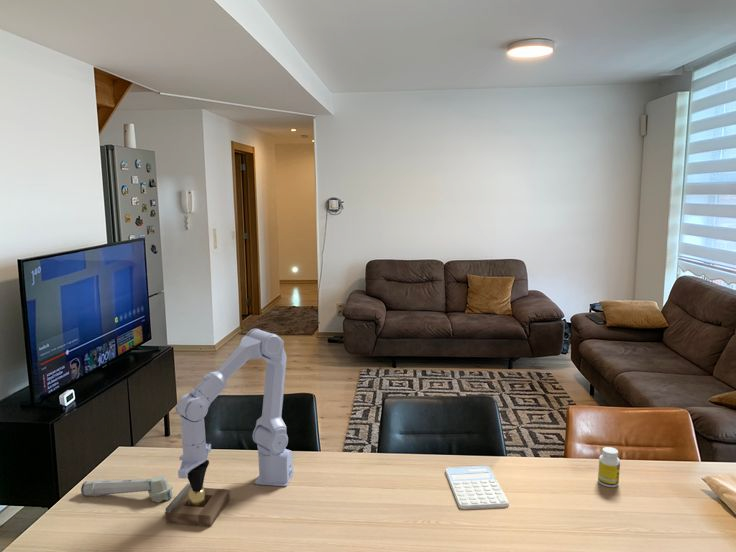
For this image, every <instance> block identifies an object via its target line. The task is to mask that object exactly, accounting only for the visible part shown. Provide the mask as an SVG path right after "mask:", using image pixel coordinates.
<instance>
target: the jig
mask: <svg viewBox="0 0 736 552" xmlns="http://www.w3.org/2000/svg"><path fill="white" fill-rule="evenodd" d="M190 488H192V487H191V485H190V482H189V483H188V482H187V484H186V485H184V487H183V488H182V490H180V492H179V493H178V494H177V495H175V497H174V498H173V500H172V501H170V503H169V504H168V505H167V506H166V508H165V512H164V515H165V517H164V518H165V523H166V524H172V525H173V524H174V525H184V526H196V527H212V526H213V524H214V523H215V521H216V520H217V519H218V517H219V516H220V514H221V513H222V512H223V510H224V509H225V507H226V506H227V504H229V501H230V499H231V498H230V489H224V488H210V487H204V489H205V503H206V505H205V506H204V507H192V506H189V493H188V491H189V489H190Z"/></svg>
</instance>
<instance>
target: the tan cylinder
mask: <svg viewBox="0 0 736 552" xmlns="http://www.w3.org/2000/svg"><path fill="white" fill-rule="evenodd" d="M204 488H205V487H204V486H203V487H202V490H201V491H193V490H192V488H190V489H189V491H188V493H189V506H192V507H204V506H205V505H206V503H205V489H204Z"/></svg>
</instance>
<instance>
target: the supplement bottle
mask: <svg viewBox="0 0 736 552" xmlns="http://www.w3.org/2000/svg"><path fill="white" fill-rule="evenodd" d="M601 453H602V454H600V455H599V458H598V469H597V471H598V472H597V482H598V483H599V484H600V485H602V486H603V487H606V488H607V487H608V488H615V487H617V486H619V482H620V468H621V459H620V458H619V457H618V456H619V451H618V449H617V448H615V447H612V446H611V447H610V446H605V447H603V448H602V452H601Z"/></svg>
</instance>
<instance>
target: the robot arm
mask: <svg viewBox="0 0 736 552" xmlns="http://www.w3.org/2000/svg"><path fill="white" fill-rule="evenodd" d="M284 344H285V340H284V339H282V338H281V337H280V336H279V335H278V334H275V333H270V332H268V331H265V330H261V329H260V328H252V329H250V330H249V331H248V332H247V333H246V335H244V336H242V338H241V340H240V342H239V345H238V346H237V347H236V348H235V349H234V351H233V352H232V353H231V354H230V355H229V357H228V358H227V359H226V360H225V361H224V362H223V363H222V365H221V366H220V367H219V368H218V370H216V371H211V372H208V373H205V374H204V376H202V378H203V379H202V380H200V382H199V383H198V384H197V385H196V386H195V387H194V388H193V389H191V390H190V391H189V393H187V394H184V395H181V397H180V398H179V399H178V400H177V403H176V406H175V407H174V409H175V412H176V413H177V414H178V415H179V418H180V429H181V431H180V432H181V443H182V454H181V455H180V456H179V458H178V459H179V461H181V463H180V467H179V469H178V470H177V473H178V474H177V475H178V479H187V480H188V482H189V483H190V485H191V487H192V490H193V491H201V490H202V487H204V481H205V475H206V472H207V468H208V467H209V464H210V460H209V458H208V457H209V453H211V451H212V443H207V441H206V429H205V428H206V426H205V417H206V415H207V414H208V412H209V408H210V406H211V403H213V402H214V400H216V398H217V397H219V395H220V394H221V393H222V392H223V391H224V390H225V389H226V387H227V381H228V379H230V377H232V376H233V374H235V373H236V372H238V370H239V369H240V368H241V367H242V366H244V364H246V362H248V361H249V360H257V359H263V360H264V361H265V363H266V369H265V380H264V390H263V392H264V393H263V399H262V400H263V401H262V410H261V411H262V413H261V416H260V417H259V418H258V419H256V423H255V427H254V429H253V431H252V441H253V442H254V443H255V444H256V445H257V446H256V447H257V456H258V477H257V478H256V480H255V481H254V485H261V486H262V485H263V486H276V487H286V486H288V484H289V482H290V480H291V479H292V478H293V475H294V473H295V471H294V459H293V451H292V450H290V449H287V448H286V447H287V446H288V443H289V437H288V434H287V427H288V426H286V424H285V422H284V420H283V418H282V415H283V412H282V411H283V404H284V403H283V402H284V392H285V381H286V369H287V368H286V367H287V362H288V361H287V359H288V356H287V353H286V349H285V348H284V346H285V345H284Z"/></svg>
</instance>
